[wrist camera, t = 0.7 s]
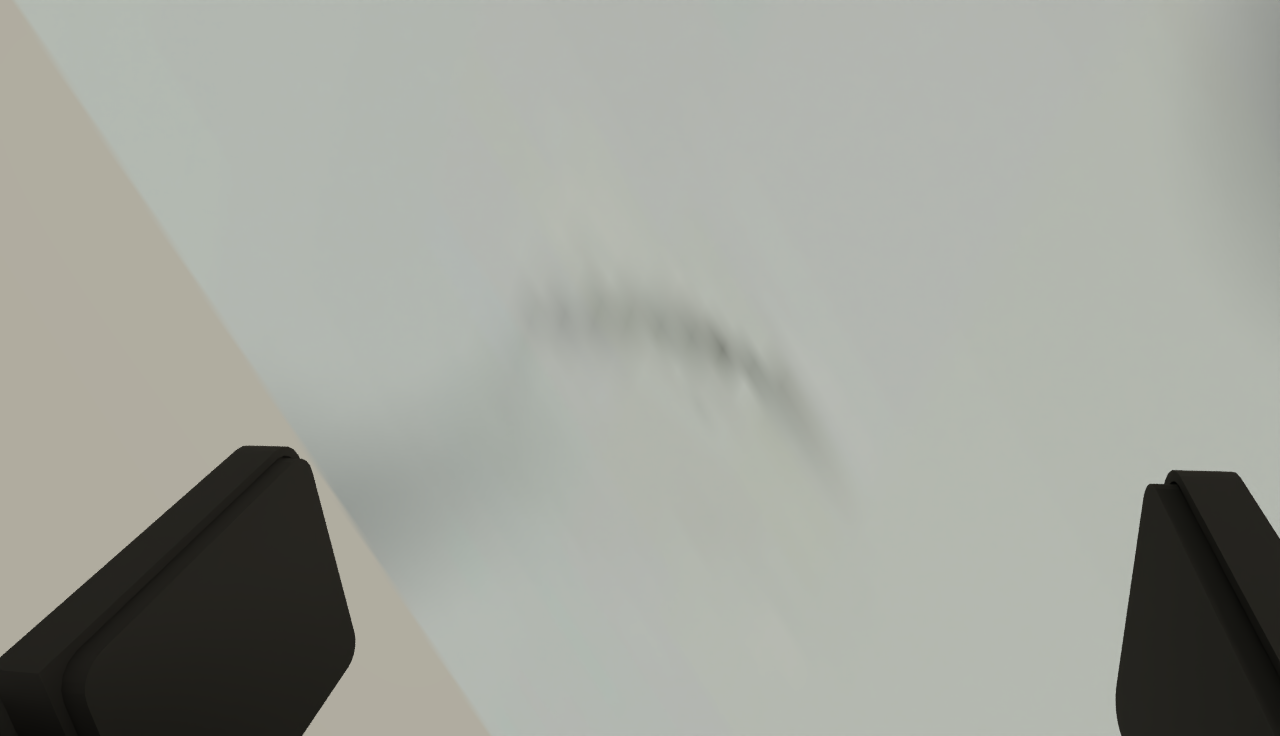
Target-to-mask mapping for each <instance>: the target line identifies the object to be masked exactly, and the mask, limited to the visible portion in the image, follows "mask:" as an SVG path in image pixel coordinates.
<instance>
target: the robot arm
mask: <svg viewBox="0 0 1280 736" xmlns="http://www.w3.org/2000/svg"><path fill="white" fill-rule="evenodd" d="M354 649H355V634H354V629H353V626H352V622H351V618H350V614H349V610H348V606H347V602H346V599H345V595H344V591H343V587H342V583H341V580H340V576H339V572H338V568H337V564H336V561H335V557H334V553H333V549H332V545H331V541H330V538H329V534H328V530H327V526H326V522H325V518H324V515H323V511H322V507H321V503H320V500H319V496H318V492H317V488H316V484H315V480H314V477H313V473H312V470H311V467H310V465H309V464H308V462H307V461H305V460H303V459H300V458H299V456H298V454H297V453H296V452H295V451H294V449H292V448H289V447H280V446H242V447H241V448H239V449H237V450H236V451H235V452H234V453H233V454H231V455H230V456H229V457H228V458H227V459H226V460H224V461H223V462H222V463H221V464H220V465H219V466H218V467H216V468H215V469H214V470H213V471H212V472H211V473H210V474H209V475H207V476H206V477H205V478H204V479H203V480H202V481H201V482H199V483H198V484H197V485H196V486H195V487H194V488H193V489H191V490H190V491H189V492H188V493H187V494H186V495H185V496H183V497H182V498H181V499H180V500H179V501H178V502H177V503H176V504H174V505H173V506H172V507H171V508H170V509H169V510H167V511H166V512H165V513H164V514H163V515H162V516H161V517H159V518H158V519H157V520H156V521H155V522H154V523H153V524H151V526H149V527H148V528H147V529H146V530H145V531H144V532H143V533H141V534H140V535H139V536H138V537H137V538H136V539H135V540H133V541H132V542H131V543H130V544H129V545H128V546H126V547H125V548H124V549H123V550H122V551H121V552H120V553H118V554H117V555H116V556H115V557H114V558H113V559H112V560H110V561H109V562H108V563H107V564H106V565H105V566H104V567H103V568H101V569H100V570H99V571H98V572H97V573H96V574H95V575H93V576H92V577H91V578H90V579H89V580H88V581H87V582H86V583H84V584H83V585H82V586H81V587H80V588H79V589H77V590H76V591H75V592H74V593H73V594H72V595H71V596H69V597H68V598H67V599H66V600H65V601H64V602H63V603H62V604H60V605H59V606H58V607H57V608H56V609H55V610H54V611H52V612H51V613H50V614H49V615H48V616H47V617H46V618H44V619H43V620H42V621H41V622H40V623H39V624H38V625H36V627H34V628H33V629H32V630H31V631H30V632H28V633H27V634H26V635H25V636H24V637H23V638H22V639H21V640H19V641H18V642H17V643H16V644H15V645H14V646H13V647H12V648H10V649H9V650H8V651H7V652H6V653H5V654H3V655H2V656H1V657H0V736H302V735H303V733H304V732H305V731H306V729H307V728H308V726H309V725H310V723H311V722H312V720H313V719H314V717H315V716H316V714H317V713H318V711H319V710H320V708H321V707H322V705H323V704H324V702H325V701H326V699H327V698H328V696H329V695H330V693H331V692H332V690H333V689H334V688H335V686H336V684H337V683H338V681H339V680H340V679H341V677H342V676H343V674H344V673H345V671H346V670H347V668H348V667H349V665H350V663H351V661H352V658H353V655H354ZM1116 714H1117V720H1118V725H1119V729H1120V733H1121V736H1280V538H1279V537H1278V535H1277V534H1276V532H1275V531H1274V529H1273V528H1272V526H1271V524H1270V523H1269V521H1268V520H1267V518H1266V517H1265V515H1264V513H1263V512H1262V510H1261V509H1260V507H1259V506H1258V504H1257V503H1256V501H1255V499H1254V498H1253V496H1252V495H1251V493H1250V492H1249V490H1248V488H1247V487H1246V485H1245V484H1244V482H1243V481H1242V479H1241V478H1240V477H1239V476H1238V474H1237V473H1235V472H1221V471H1183V470H1172V471H1171V472H1169V473H1168V475H1167V477H1166V480H1165V483H1164V484H1149V485H1148V486H1147V488H1146V490H1145V493H1144V498H1143V505H1142V512H1141V519H1140V526H1139V533H1138V540H1137V547H1136V554H1135V561H1134V568H1133V574H1132V581H1131V588H1130V595H1129V602H1128V609H1127V616H1126V623H1125V630H1124V637H1123V644H1122V651H1121V658H1120V665H1119V672H1118V679H1117V686H1116Z"/></svg>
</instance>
